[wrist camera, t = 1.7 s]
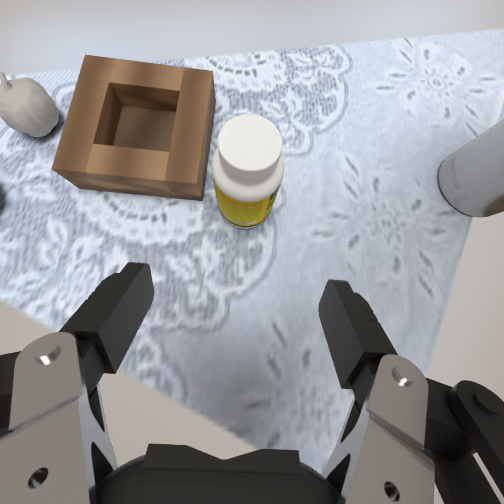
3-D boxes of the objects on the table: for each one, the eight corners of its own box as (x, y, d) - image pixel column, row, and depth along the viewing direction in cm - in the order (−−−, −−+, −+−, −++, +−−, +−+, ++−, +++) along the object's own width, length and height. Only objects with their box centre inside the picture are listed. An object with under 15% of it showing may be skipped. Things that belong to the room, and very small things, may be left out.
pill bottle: (271, 230, 26) (294, 183, 16) (217, 229, 26) (204, 179, 15) (270, 182, 28) (292, 107, 17) (219, 180, 27) (208, 102, 17)
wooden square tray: (215, 101, 30) (212, 71, 26) (202, 200, 27) (196, 183, 23) (105, 87, 29) (85, 54, 25) (79, 188, 26) (51, 168, 22)
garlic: (26, 101, 28) (-22, 56, 23) (72, 103, 28) (35, 60, 23) (15, 143, 27) (-37, 107, 22) (63, 146, 27) (23, 110, 22)
